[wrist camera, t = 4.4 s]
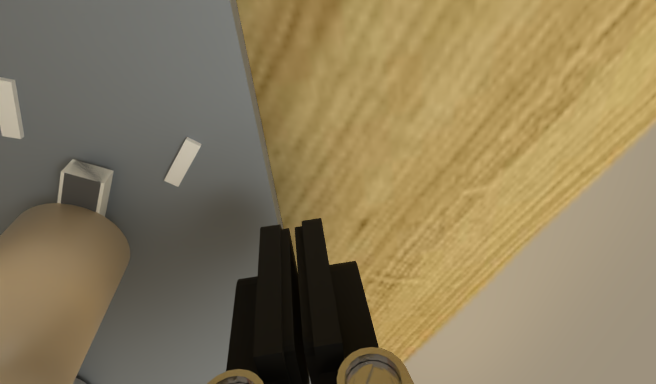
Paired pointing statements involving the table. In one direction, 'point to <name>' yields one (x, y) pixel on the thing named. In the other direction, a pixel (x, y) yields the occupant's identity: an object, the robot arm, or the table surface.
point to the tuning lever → (58, 279)
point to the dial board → (144, 164)
